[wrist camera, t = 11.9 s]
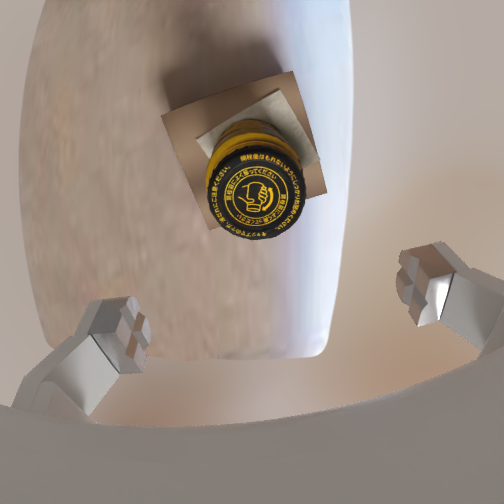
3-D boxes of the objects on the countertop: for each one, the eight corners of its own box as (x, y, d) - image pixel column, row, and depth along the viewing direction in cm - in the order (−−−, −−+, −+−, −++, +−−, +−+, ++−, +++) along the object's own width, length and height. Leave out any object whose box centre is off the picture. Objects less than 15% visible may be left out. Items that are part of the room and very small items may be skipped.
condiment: (196, 139, 25) (164, 179, 14) (279, 89, 23) (313, 90, 12) (240, 203, 28) (242, 279, 18) (319, 158, 26) (371, 210, 16)
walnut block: (172, 111, 27) (160, 115, 23) (283, 74, 26) (292, 70, 22) (212, 210, 33) (209, 230, 29) (314, 177, 32) (327, 192, 28)
